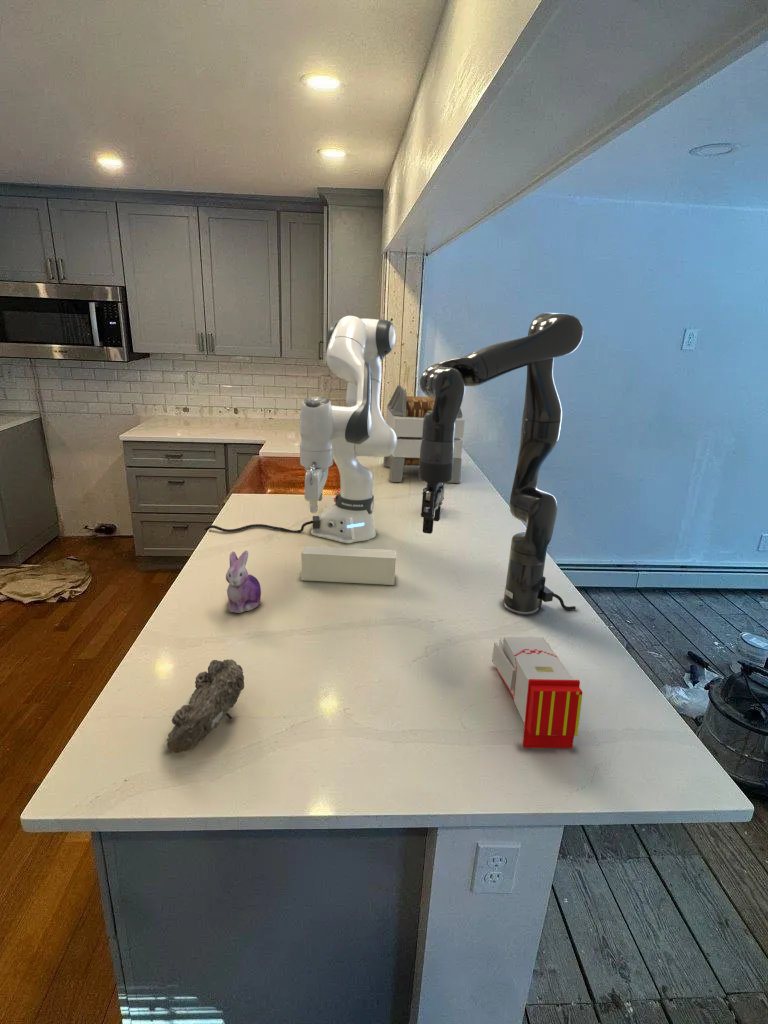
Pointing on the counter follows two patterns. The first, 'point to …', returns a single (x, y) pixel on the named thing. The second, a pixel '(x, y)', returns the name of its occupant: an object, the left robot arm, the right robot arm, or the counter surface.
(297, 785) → the counter surface
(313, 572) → the bar
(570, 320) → the right robot arm
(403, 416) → the transformer
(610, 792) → the counter surface
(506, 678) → the toy
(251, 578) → the figurine
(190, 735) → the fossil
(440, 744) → the counter surface
